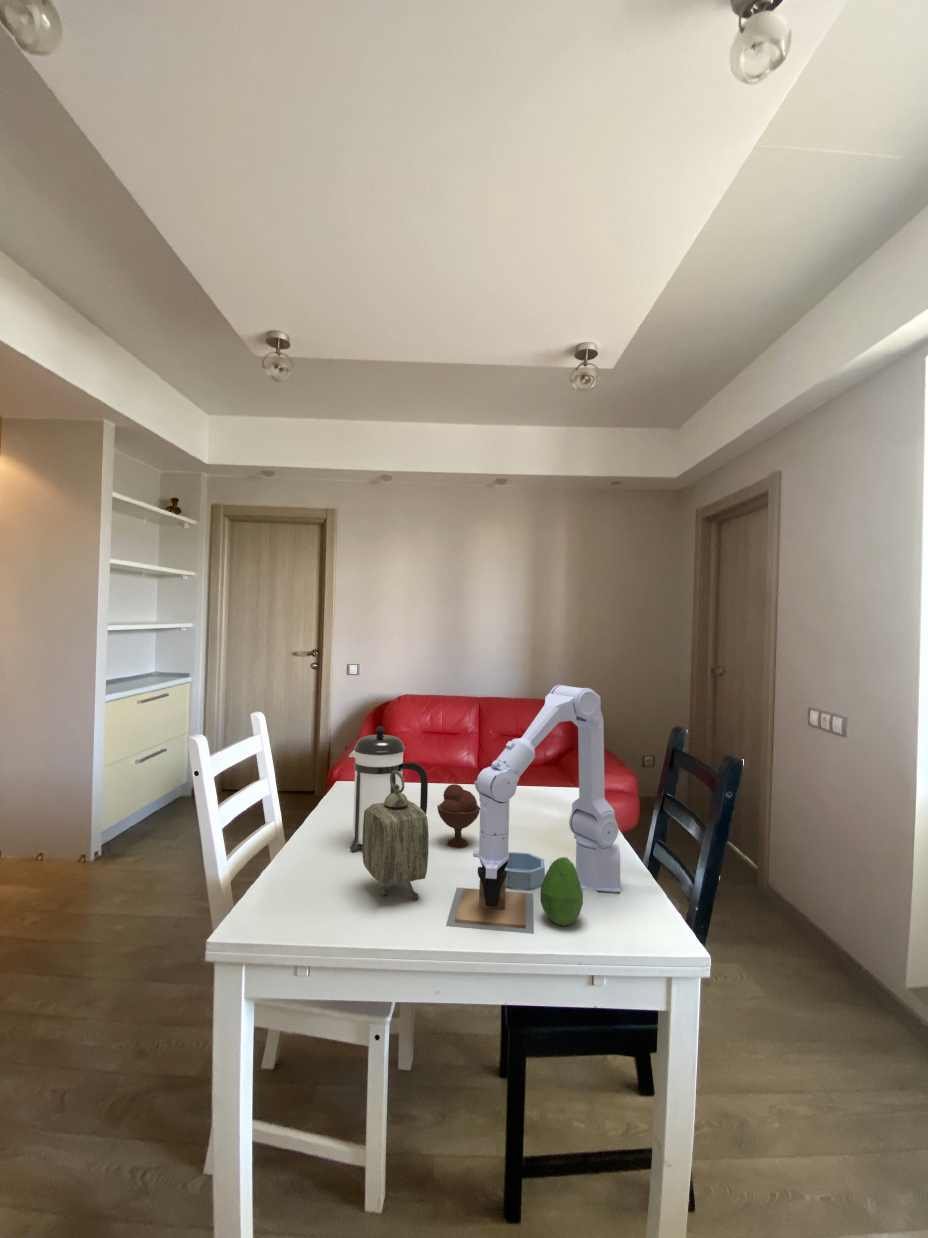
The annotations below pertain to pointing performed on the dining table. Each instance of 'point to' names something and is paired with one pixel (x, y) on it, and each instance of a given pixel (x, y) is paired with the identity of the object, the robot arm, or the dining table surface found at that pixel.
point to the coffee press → (379, 776)
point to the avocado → (561, 892)
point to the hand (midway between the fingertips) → (492, 901)
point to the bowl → (524, 871)
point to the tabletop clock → (396, 840)
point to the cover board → (492, 915)
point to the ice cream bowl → (458, 812)
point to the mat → (452, 923)
